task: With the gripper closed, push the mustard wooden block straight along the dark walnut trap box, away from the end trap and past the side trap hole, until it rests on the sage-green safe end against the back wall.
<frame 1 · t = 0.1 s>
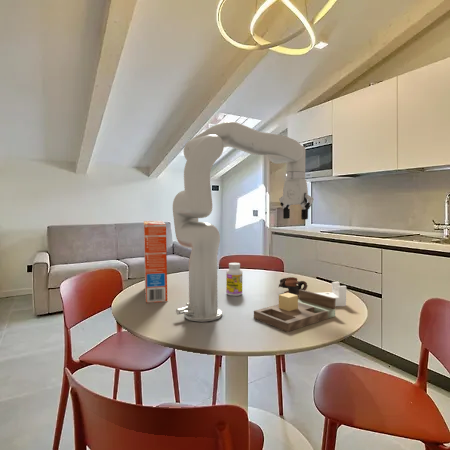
hand: (295, 218, 141), 31 cm above the table, tool pointing down, fingers open, 9 cm apart
bracket: (325, 304, 130), on the table
orange cereal box: (155, 294, 144), on the table
pottery mug: (292, 295, 142), on the table
block: (288, 308, 116), point 2 cm above the table, touching trap box
supplement bottle: (234, 294, 143), on the table
trap box: (294, 317, 115), on the table
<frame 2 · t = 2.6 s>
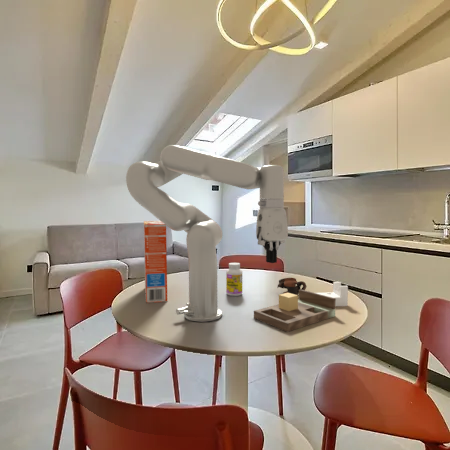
hand: (271, 262, 110), 19 cm above the table, tool pointing down, fingers closed
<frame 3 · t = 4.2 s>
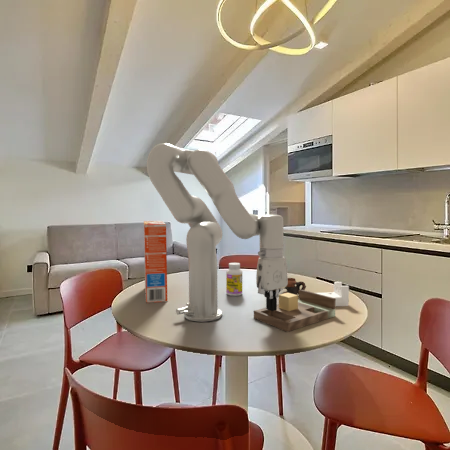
hand: (271, 309, 111), 4 cm above the table, tool pointing down, fingers closed
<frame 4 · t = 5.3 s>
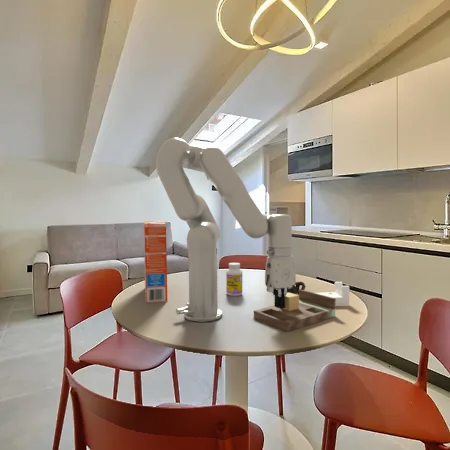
hand: (279, 307, 114), 4 cm above the table, tool pointing down, fingers closed
block: (289, 307, 116), point 2 cm above the table, touching gripper, trap box
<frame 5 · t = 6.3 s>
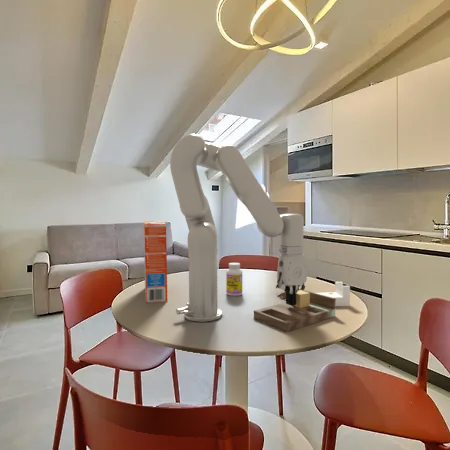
hand: (290, 304, 117), 4 cm above the table, tool pointing down, fingers closed
block: (300, 305, 119), point 3 cm above the table, touching gripper, trap box
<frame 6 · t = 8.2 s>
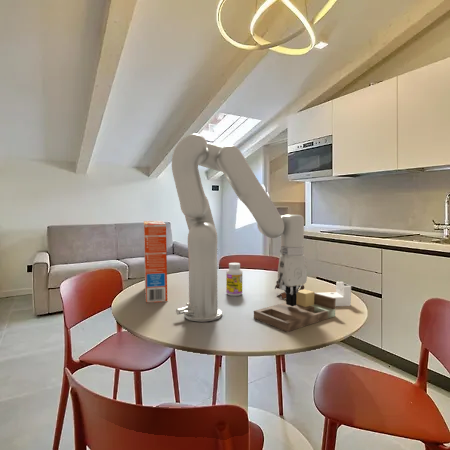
hand: (291, 304, 117), 3 cm above the table, tool pointing down, fingers closed
block: (304, 304, 121), point 2 cm above the table, touching trap box
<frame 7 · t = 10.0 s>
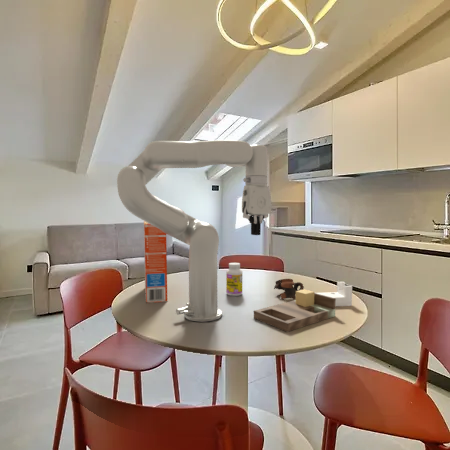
hand: (255, 234, 120), 27 cm above the table, tool pointing down, fingers closed
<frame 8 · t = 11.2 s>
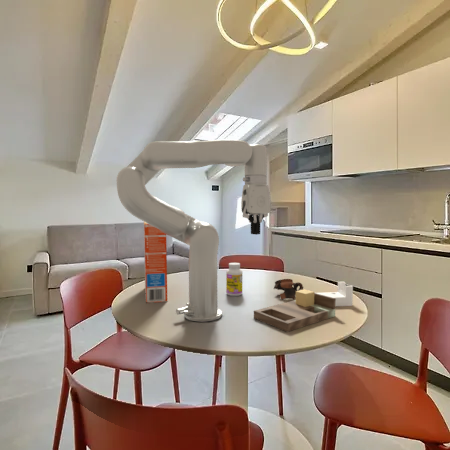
hand: (255, 234, 120), 27 cm above the table, tool pointing down, fingers closed
at the end: block inside the target area (0.5 cm from its centre), point 2.5 cm above the table; block tilted 0° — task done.
